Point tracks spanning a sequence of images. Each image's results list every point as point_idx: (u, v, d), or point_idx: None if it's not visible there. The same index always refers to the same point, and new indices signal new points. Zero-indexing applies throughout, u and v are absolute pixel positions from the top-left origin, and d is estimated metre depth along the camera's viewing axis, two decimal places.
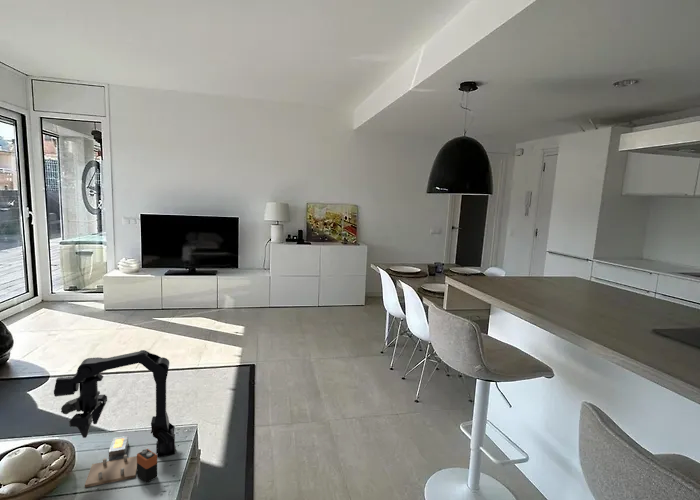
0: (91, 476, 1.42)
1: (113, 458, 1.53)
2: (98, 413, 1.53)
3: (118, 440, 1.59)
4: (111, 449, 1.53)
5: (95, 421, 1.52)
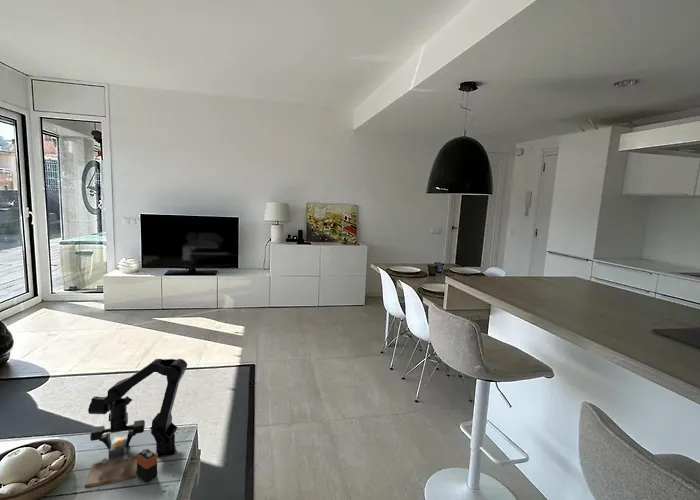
0: (91, 476, 1.42)
1: (113, 458, 1.53)
2: None
3: (118, 440, 1.59)
4: (111, 449, 1.53)
5: (126, 445, 1.59)
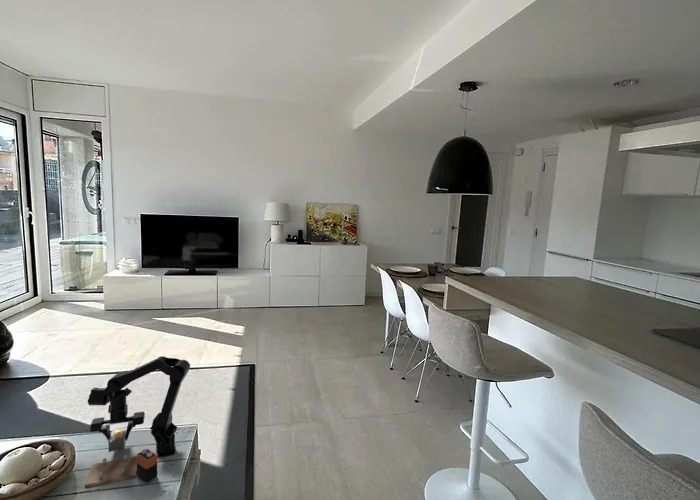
0: (91, 476, 1.42)
1: (113, 449, 1.52)
2: (127, 430, 1.57)
3: (118, 431, 1.59)
4: (111, 440, 1.53)
5: (126, 437, 1.58)
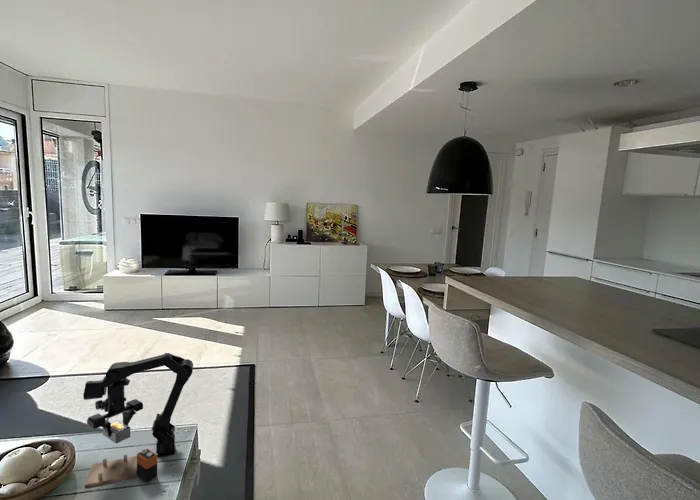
0: (91, 476, 1.42)
1: (120, 439, 1.49)
2: (126, 420, 1.54)
3: (112, 424, 1.53)
4: (116, 431, 1.48)
5: None
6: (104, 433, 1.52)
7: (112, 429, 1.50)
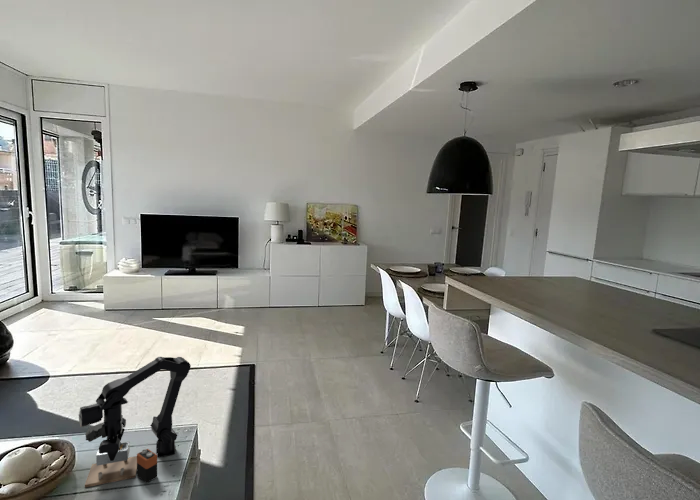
0: (91, 476, 1.42)
1: (128, 455, 1.46)
2: None
3: None
4: (124, 449, 1.45)
5: None
6: (100, 462, 1.41)
7: None
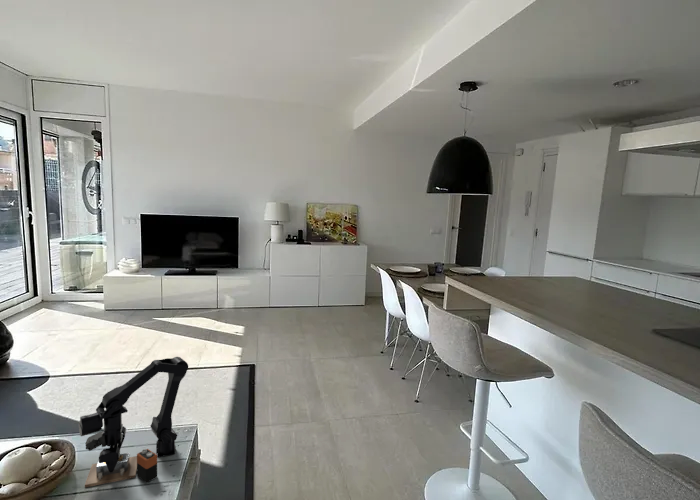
0: (91, 476, 1.42)
1: (128, 466, 1.47)
2: (118, 445, 1.50)
3: None
4: (124, 460, 1.45)
5: None
6: None
7: None
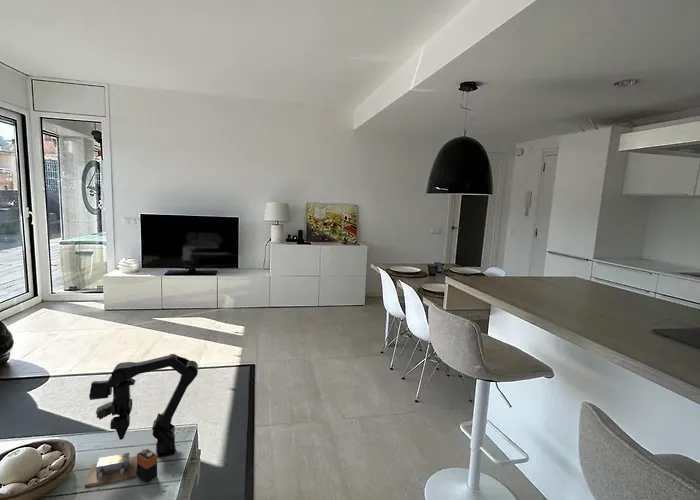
0: (91, 476, 1.42)
1: (128, 466, 1.47)
2: None
3: (107, 461, 1.44)
4: (124, 460, 1.45)
5: None
6: None
7: (115, 462, 1.44)
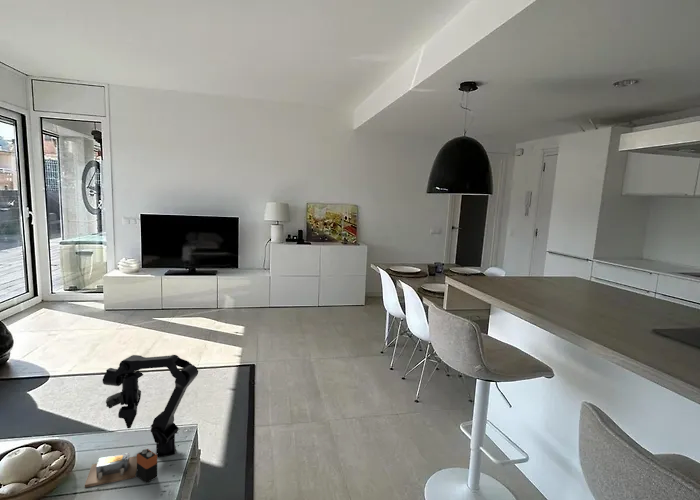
0: (91, 476, 1.42)
1: (128, 466, 1.47)
2: None
3: (107, 461, 1.44)
4: (124, 460, 1.45)
5: None
6: None
7: (115, 462, 1.44)
